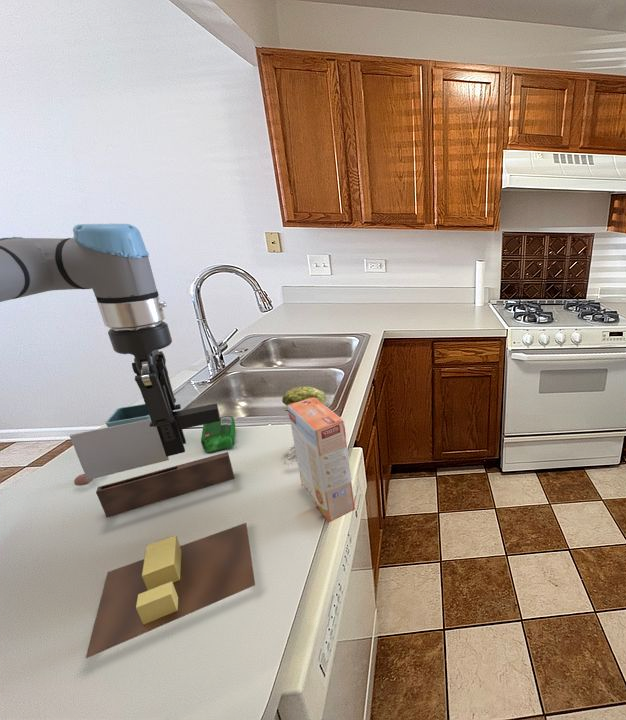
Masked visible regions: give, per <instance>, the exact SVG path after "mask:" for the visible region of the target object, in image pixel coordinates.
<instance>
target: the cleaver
mask: <svg viewBox="0 0 626 720" xmlns="http://www.w3.org/2000/svg"><path fill="white" fill-rule="evenodd" d="M174 411H175V412H174ZM174 411H173V412H172V415H173V417H174V419H176V422H177V425H178V428H179V430H181V429H182V430H185V429H189V428H194V427H198V426H199V427H200V426H203V425H204V424H208V423H213V422H218V421H220V418H221V415H220V411H219V407H218V403H216V402H215V403H211V404H206V405H201V406H196V407H195V406H194V407H191V408H186V409H179V410H174ZM150 422H152V421H151V419H147V420H142V421H137V422H132V423H127V424H122V425H117V426H112V427H107V426H106V427H102V428H97V429H92V430H87V431H83V432H78V433H72V434H70V435H69V439H70V441H71V444H72V446H73V448H74V451H75V454H76V456H77V458H78V461H79V462H80V466H81V468H82V471H83V472H84V473H83V474H85V475H86V478H87V480H90V479H93V480H94V479H98V478H102V477H107V476H111V475H114V474H118V473H123V472H126V471H130V470H134V469H138V468H139V469H140V468H142V467H147V466H150V465H155V464H159V463H163V462H167V461H169V460H170V458H169V456H168V457H166V454H165V451H164V448H163V445H162V442H161V439H160V436H159V433H158V430H157V427H150V425H149V424H150Z"/></svg>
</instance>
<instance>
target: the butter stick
mask: <svg viewBox="0 0 626 720" xmlns="http://www.w3.org/2000/svg"><path fill="white" fill-rule="evenodd" d="M180 546H181V545H180V542H179V540H178V537H177V535H173V536H170V537H167V538H164V539H161V540H158V541H155V542H152V543H150V544H147V545H146V546H145V554H144V558H143V559H144V565H143V572H142V578H143V580H144V583H145V585H146V587H147V590H151V589H153V588H156V587H159V586H161V585H164V584H166V583H169V582H171V581H172V582H173V583H174V582H176V581H179V580H180V569H181V548H180Z"/></svg>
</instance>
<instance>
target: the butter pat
mask: <svg viewBox="0 0 626 720" xmlns="http://www.w3.org/2000/svg"><path fill="white" fill-rule="evenodd" d="M136 609H137V611H138V614H139V616H140V618H141V621H142V623H143V625H144V624H147V623H149V622H152V621H154V620H156V619H159V618H161V617H163V616H166V615H168V614H171V613H173V612H175V611H177V610H178V596H177V593H176V590H175V588H174V585H173V582H172V581H171V582H169V583H166V584H164V585H161V586H159V587H156V588H153V589H151V590H148V591H146V592H143V593H140V594H138V599H137V605H136Z"/></svg>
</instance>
